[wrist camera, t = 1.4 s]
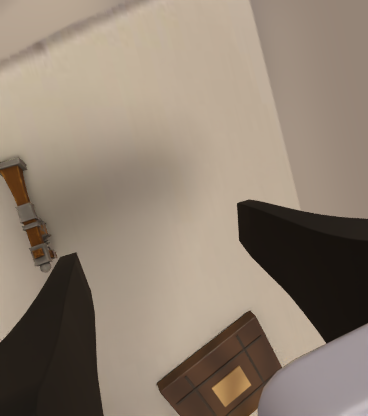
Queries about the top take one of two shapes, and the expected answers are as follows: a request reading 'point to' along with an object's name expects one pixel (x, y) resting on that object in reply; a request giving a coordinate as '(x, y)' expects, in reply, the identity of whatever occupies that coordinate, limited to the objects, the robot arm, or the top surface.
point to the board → (224, 373)
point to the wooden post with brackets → (28, 213)
